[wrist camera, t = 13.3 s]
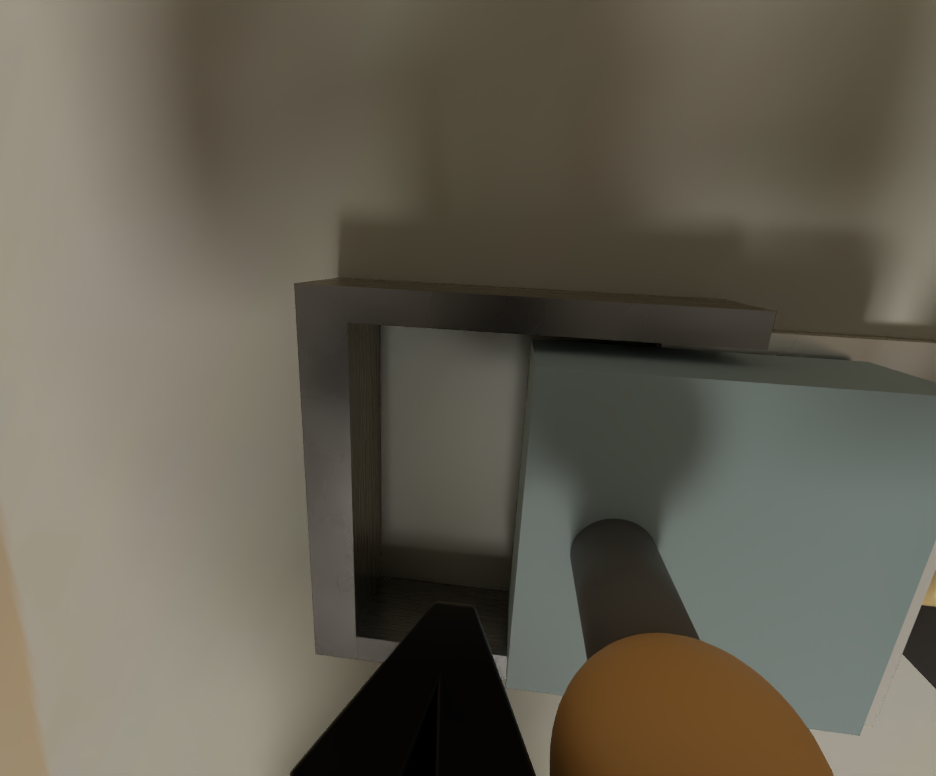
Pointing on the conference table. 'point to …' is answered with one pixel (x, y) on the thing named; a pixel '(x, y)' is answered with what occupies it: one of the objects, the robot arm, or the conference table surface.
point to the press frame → (488, 310)
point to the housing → (924, 637)
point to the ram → (716, 553)
